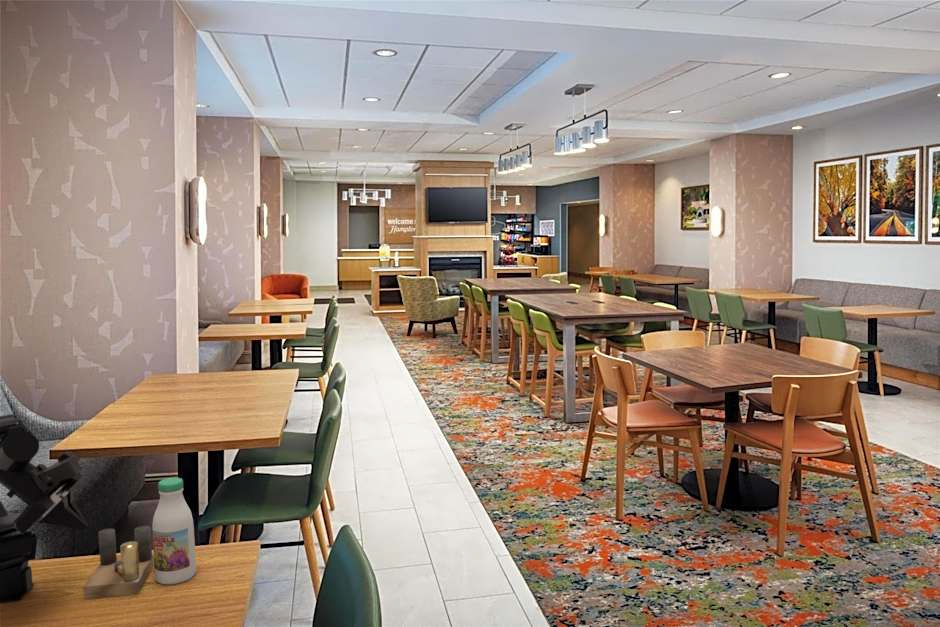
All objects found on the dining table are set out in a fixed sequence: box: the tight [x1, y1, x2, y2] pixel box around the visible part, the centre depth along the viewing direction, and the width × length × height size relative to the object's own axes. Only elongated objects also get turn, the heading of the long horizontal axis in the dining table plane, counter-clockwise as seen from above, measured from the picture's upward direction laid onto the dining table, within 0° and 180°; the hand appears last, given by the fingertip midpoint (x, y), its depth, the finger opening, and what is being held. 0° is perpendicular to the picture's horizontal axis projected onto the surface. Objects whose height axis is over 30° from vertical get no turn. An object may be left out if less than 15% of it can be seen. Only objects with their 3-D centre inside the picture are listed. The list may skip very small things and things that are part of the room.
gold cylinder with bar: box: [118, 540, 140, 581], centre depth 137 cm, size 6×3×6 cm, turn 47°
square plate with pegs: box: [82, 525, 154, 600], centre depth 140 cm, size 10×12×9 cm
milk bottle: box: [151, 477, 197, 585], centre depth 142 cm, size 8×8×20 cm
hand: (86, 527), depth 135 cm, fingers closed
